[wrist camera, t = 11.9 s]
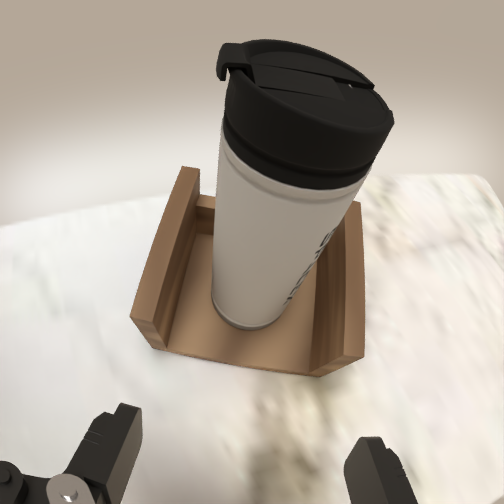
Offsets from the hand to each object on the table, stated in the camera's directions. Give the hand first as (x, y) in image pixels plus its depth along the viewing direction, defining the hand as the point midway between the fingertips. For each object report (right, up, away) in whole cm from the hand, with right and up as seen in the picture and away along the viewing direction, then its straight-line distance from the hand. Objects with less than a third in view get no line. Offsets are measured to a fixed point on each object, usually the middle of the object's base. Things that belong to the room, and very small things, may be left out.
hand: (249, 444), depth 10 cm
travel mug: (0, +3, +17) cm, 17 cm away
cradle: (0, +3, +18) cm, 18 cm away
